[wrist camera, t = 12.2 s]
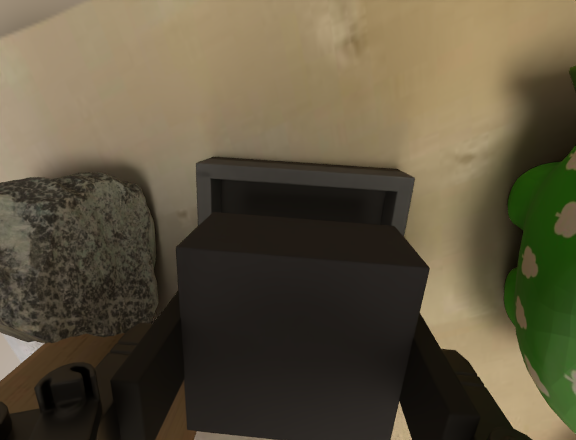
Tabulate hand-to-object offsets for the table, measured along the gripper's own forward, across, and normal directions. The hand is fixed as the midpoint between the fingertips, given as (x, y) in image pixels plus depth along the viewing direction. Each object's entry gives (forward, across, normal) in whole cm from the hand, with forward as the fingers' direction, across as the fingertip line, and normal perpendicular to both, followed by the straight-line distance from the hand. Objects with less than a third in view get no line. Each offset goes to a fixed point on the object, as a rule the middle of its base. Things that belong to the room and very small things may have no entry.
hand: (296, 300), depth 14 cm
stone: (+6, -13, 0) cm, 15 cm away
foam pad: (0, 0, 0) cm, 0 cm away
